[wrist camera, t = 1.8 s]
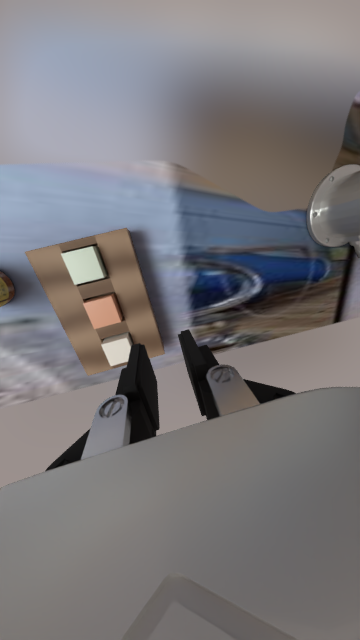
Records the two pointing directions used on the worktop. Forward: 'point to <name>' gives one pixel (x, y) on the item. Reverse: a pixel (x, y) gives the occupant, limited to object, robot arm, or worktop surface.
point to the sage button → (85, 264)
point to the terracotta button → (103, 310)
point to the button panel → (120, 281)
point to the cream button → (117, 348)
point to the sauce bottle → (5, 289)
